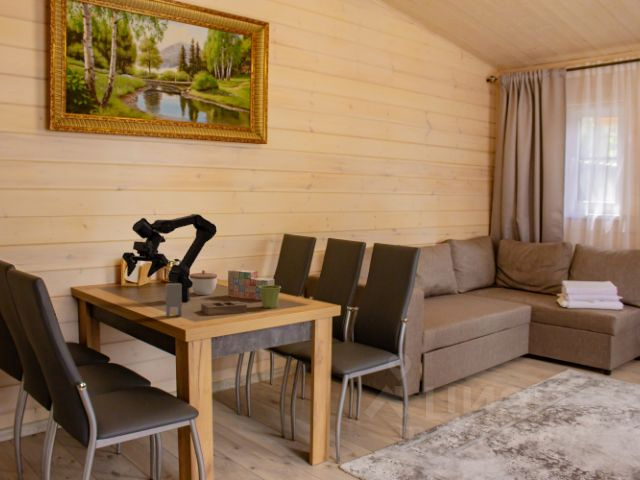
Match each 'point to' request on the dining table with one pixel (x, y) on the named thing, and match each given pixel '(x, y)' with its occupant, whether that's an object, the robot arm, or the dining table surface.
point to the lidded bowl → (203, 282)
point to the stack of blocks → (246, 284)
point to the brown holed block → (223, 307)
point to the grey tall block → (173, 298)
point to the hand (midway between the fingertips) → (137, 276)
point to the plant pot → (269, 295)
